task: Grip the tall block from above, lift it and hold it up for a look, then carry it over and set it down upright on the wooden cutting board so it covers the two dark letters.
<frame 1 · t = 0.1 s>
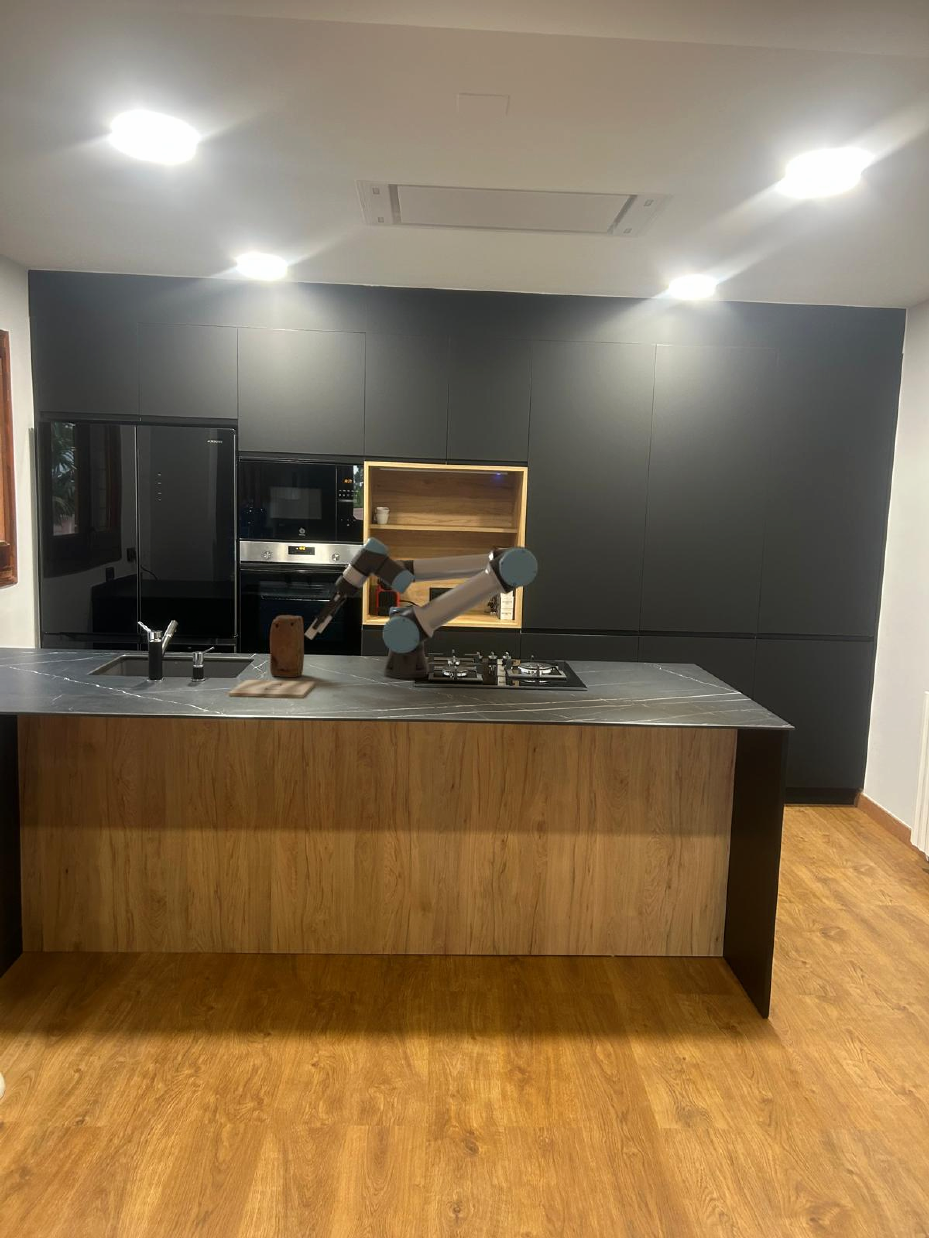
hand: (312, 633, 270), 15 cm above the worktop, tool tilted 35°, fingers open, 13 cm apart
block: (286, 676, 278), on the worktop
wooden cutting board: (273, 690, 258), on the worktop
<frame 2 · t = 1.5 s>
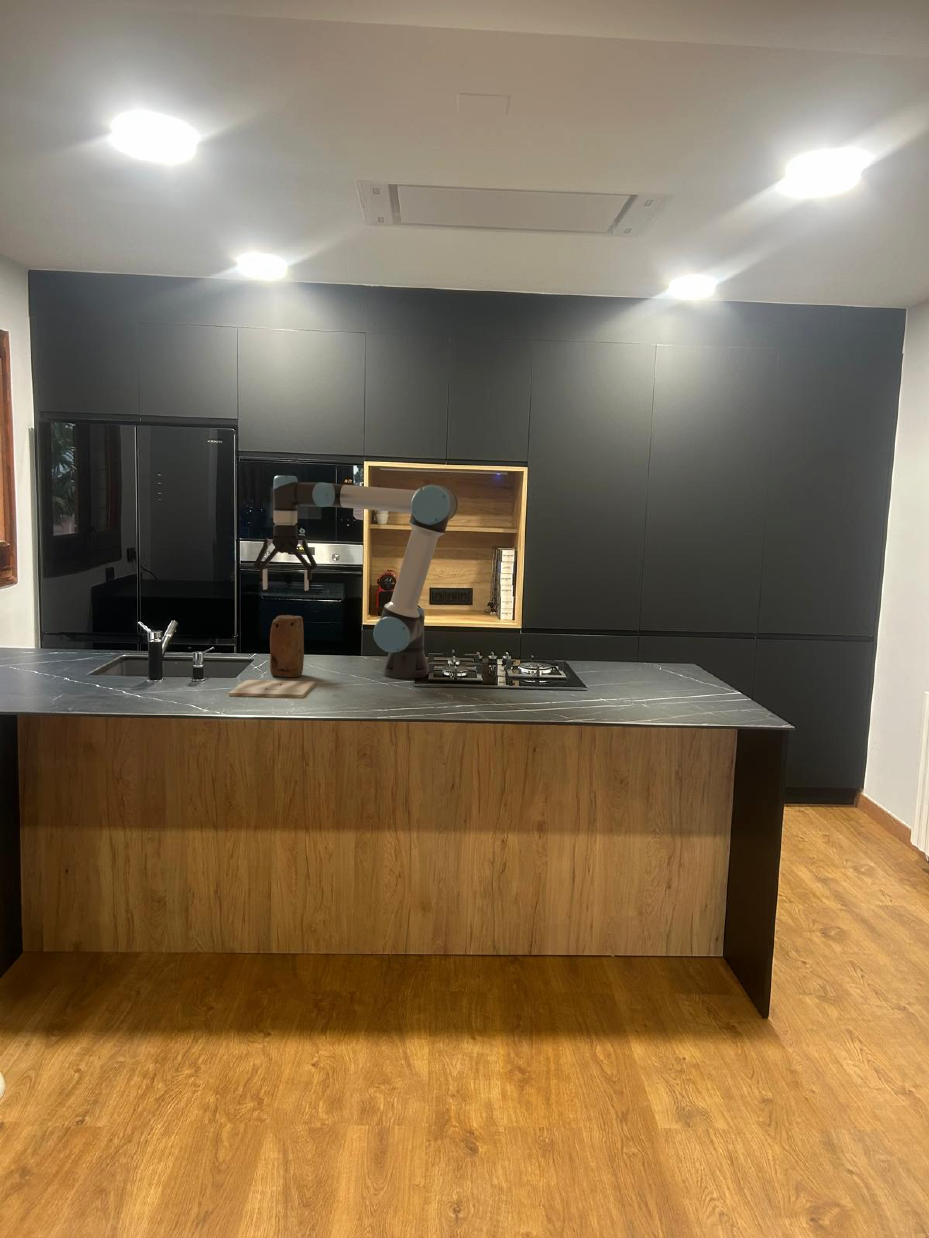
hand: (285, 589, 274), 29 cm above the worktop, tool pointing down, fingers open, 13 cm apart
nothing on the worktop moved.
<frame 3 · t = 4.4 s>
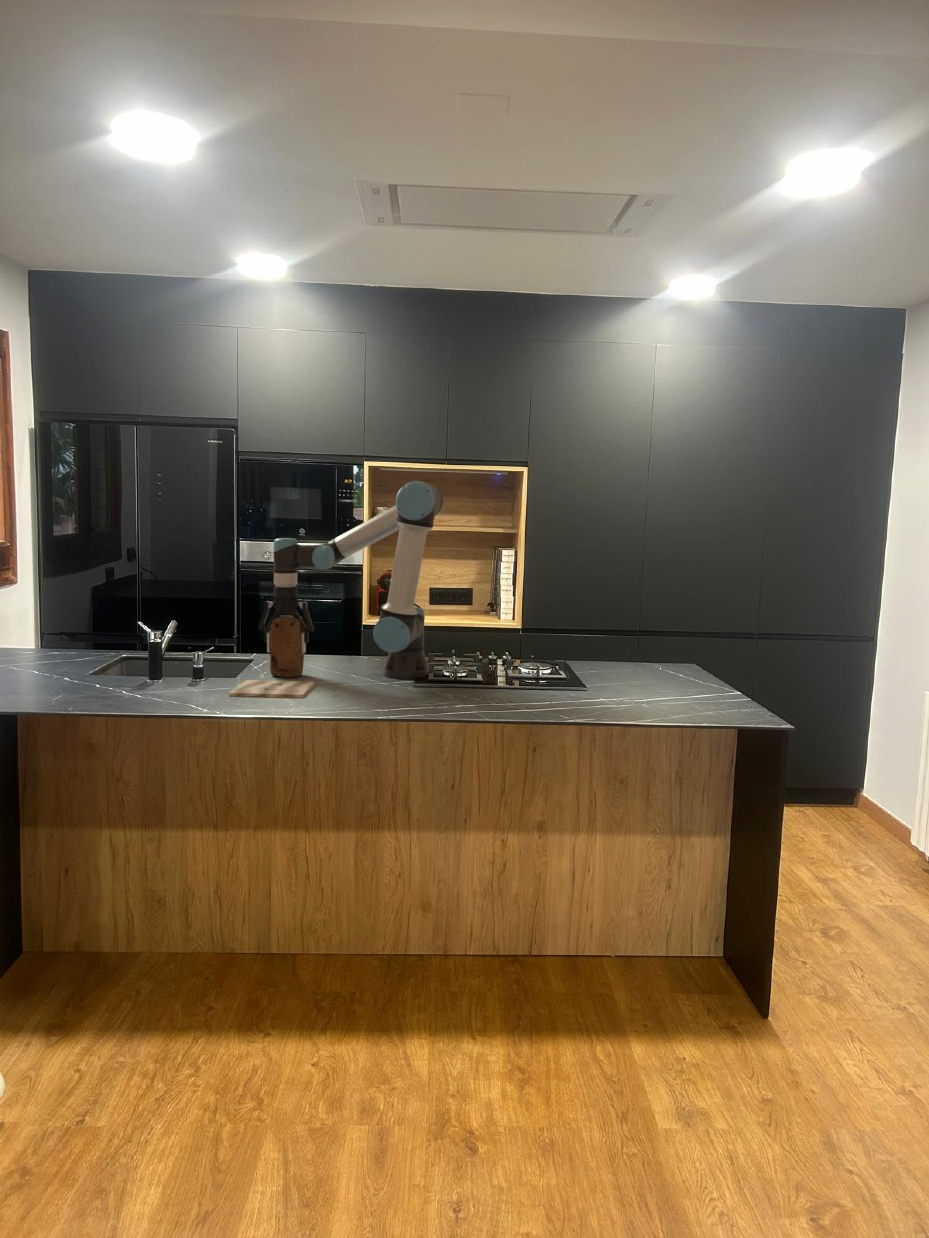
hand: (286, 652, 277), 8 cm above the worktop, tool pointing down, fingers closed on block, 11 cm apart
block: (286, 676, 278), on the worktop, touching gripper
when the fingers open (10 cm above the worktop, at t = 11.7 s): block drops 1 cm, resting on wooden cutting board.
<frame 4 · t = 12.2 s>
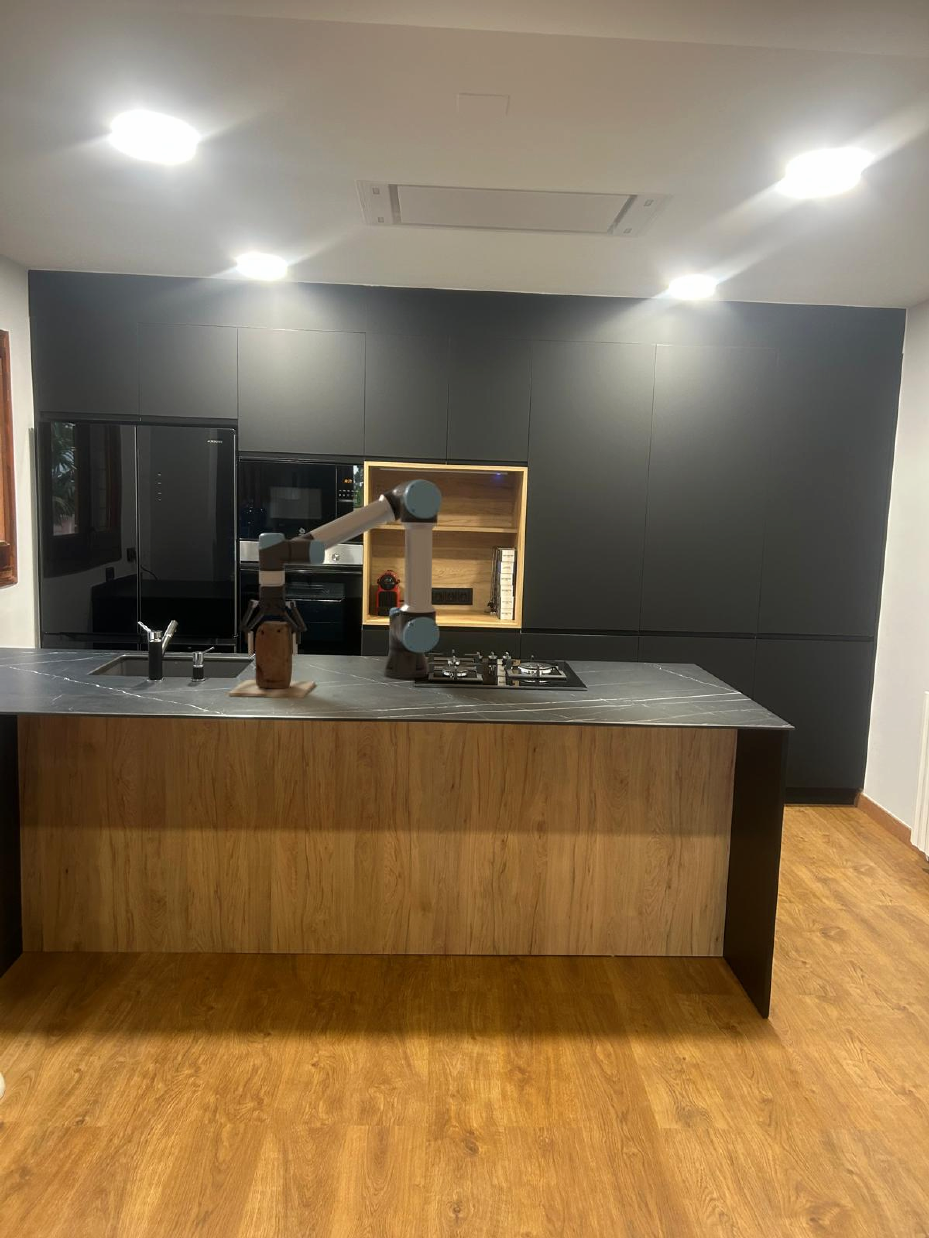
hand: (273, 654, 256), 11 cm above the worktop, tool pointing down, fingers open, 13 cm apart
block: (273, 687, 257), point 1 cm above the worktop, touching wooden cutting board
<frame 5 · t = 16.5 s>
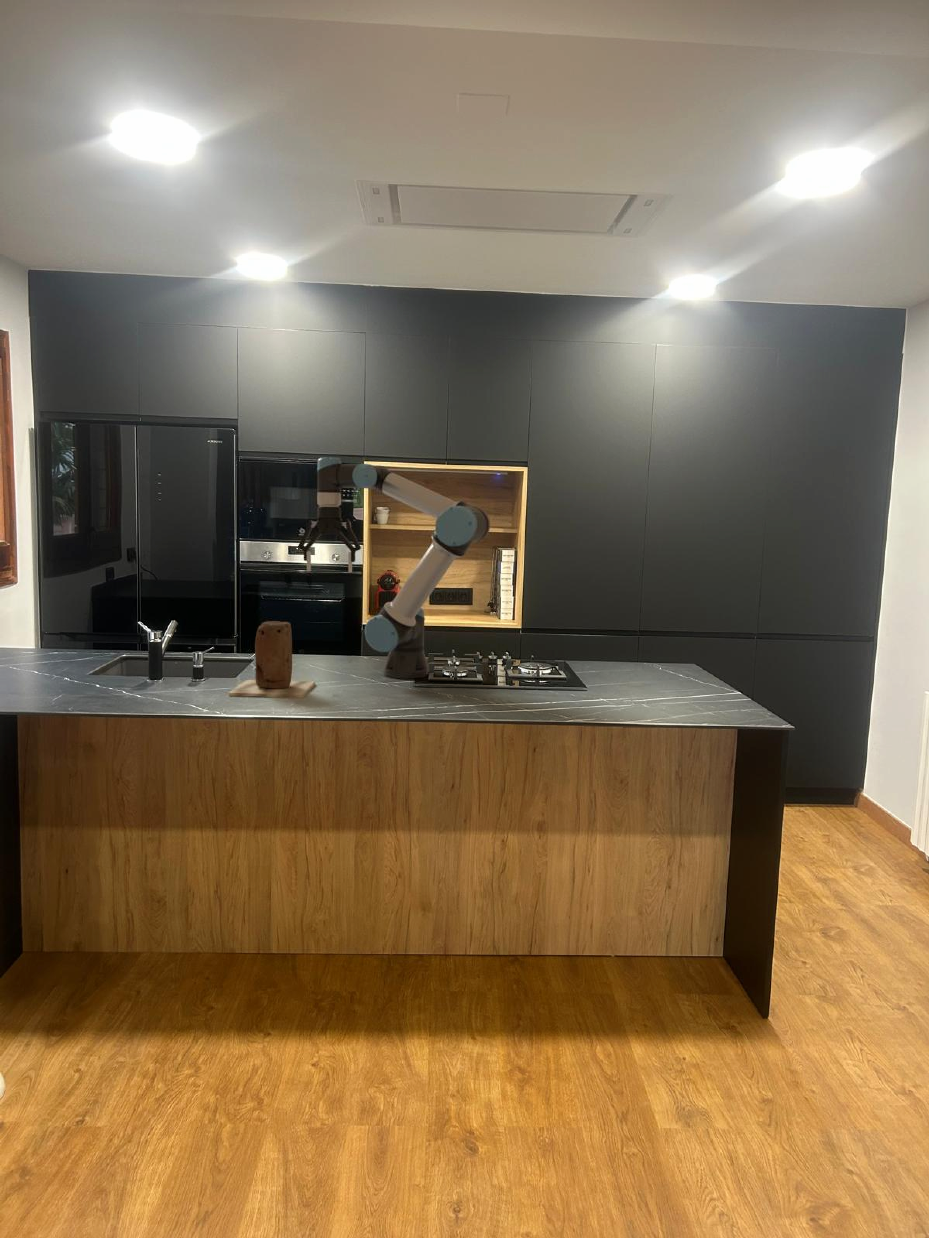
hand: (329, 571, 275), 35 cm above the worktop, tool pointing down, fingers open, 13 cm apart
nothing on the worktop moved.
at the end: block inside the target area on the wooden cutting board (0.0 cm from its centre), point 0.8 cm above the wooden cutting board's base; block tilted 0°; the gripper is holding nothing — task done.
